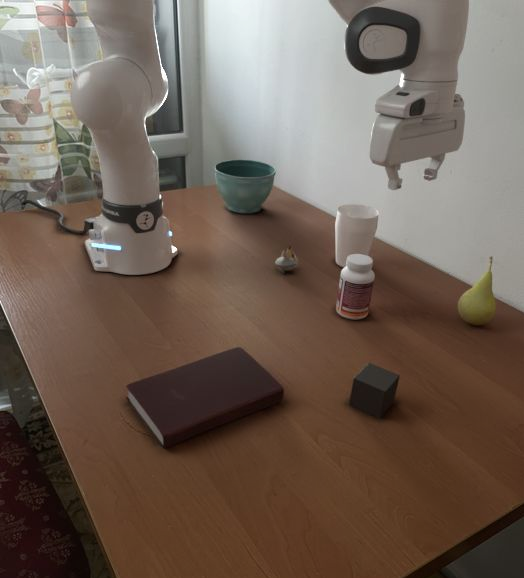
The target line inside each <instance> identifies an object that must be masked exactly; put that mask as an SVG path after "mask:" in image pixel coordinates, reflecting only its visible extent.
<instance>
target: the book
mask: <svg viewBox="0 0 524 578" xmlns="http://www.w3.org/2000/svg"><path fill="white" fill-rule="evenodd" d="M125 388H126V389H127V390H128V395H127V396H125V399H126V400H127V402H128V403H129V405H130V406H131V408H132V409H133V411H134V412H135V413H136V415H137V416H138V418H139V419H140V421H142V423H143V424H144V425H145V427H146V428H147V430H148V431H149V432H150V433H151V435H152V436H153V437H154V439H155V440H156V441H157V443H158V444H159V445H160V446H161V447H162V448H163V449H165V448H168V447H170V446H172V445H175V444H177V443H180V442H183V441H185V440H188V439H190V438H192V437H195V436H197V435H199V434H202V433H204V432H207V431H209V430H212V429H215V428H217V427H219V426H222V425H224V424H227V423H231V422H232V421H234V420H237V419H240V418H242V417H245V416H248V415H250V414H253V413H256V412H258V411H261V410H263V409H266V408H268V407H271V406H273V405H276V404H279V403H281V402H282V401H283V399H284V394H285V389H284V387H283V386H282V384H281V383H280V382H279V381H278V380H277V379H276V378H274V376H273V375H272V374H271V373H270V372H269V371H268V370H266V368H265V367H263V365H262V364H260V363H259V361H257V360H256V359H255V358H254V357H253V356H252V355H251V354H249V353H248V352H247V351H246V350H245V349H244V348H242V347H241V346H237V347H233V348H231V349H230V348H229V349H227V350H224V351H221V352H218V353H215V354H212V355H209V356H207V357H204V358H201V359H198V360H195V361H193V362H189V363H186V364H184V365H181V366H178V367H174V368H172V369H169V370H166V371H163V372H160V373H157V374H153V375H151V376H148V377H144V378H142V379H139V380H137V381H133V382H131V383H128V384H126V386H125Z"/></svg>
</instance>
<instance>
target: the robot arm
mask: <svg viewBox="0 0 524 578" xmlns="http://www.w3.org/2000/svg"><path fill="white" fill-rule="evenodd" d="M326 2H327V3H328V4H329V5H330V6H331V8H332V9H333V10H334V11H335V13H336V14H337V15H338V16H339V18H340V19H341V20H342V21H343V22H344V24H345V26H346V30H345V33H344V37H343V50H344V53H345V57H346V60H347V61H348V62H349V64H350V65H351V66H352V67H353V68H354V69H355V70H356V71H358V72H360V73H362V74H365V75H370V76H377V75H382V74H385V73H388V72H394V71H399V72H400V78H399V84H397V85H395V86H394V87H393V88H391V90H389V91H387V92H386V93H384V94H382V95H381V96H380V97H378V98H376V100H375V102H374V111H375V113H376V114H378V115H376V117H375V118H374V121H373V124H372V128H371V134H370V141H369V142H370V143H369V153H368V154H369V160H370V162H371V163H372V164H374V165H377V166H379V167H384V170H385V172H386V175H387V178H388V181H387V188H388V189H389V190H391V191H397V190H400V189H402V184H403V178H400V176H399V171H400V170H401V166H402V164H406V163H410V162H414V161H415V162H416V161H419V160H424V159H427V158H430V161H429V164H428V166H427V168H425V169H424V171H423V173H424V175H423V179H424V180H425V181H428V182H431V181H434V180H437V178H438V172H439V170H440V168H441V166H442V165H443V163H444V161H445V158H446V154H449V153H453V152H454V153H455V152H458V151H459V149H460V148H461V146H462V144H463V139H464V131H465V123H466V111H465V109H464V107H465V100H464V99H463V97H462V95H461V94H460V93H456V92H457V91H456V90H457V85H458V80H459V69H458V68H459V67H458V66H459V60H460V57H461V55H462V53H463V50H464V47H465V43H466V35H467V29H468V22H469V21H468V20H469V12H470V11H469V10H470V0H326ZM85 4H86V14H87V17H88V19H89V22H91V24H92V25H93V27H94V28H95V31H96V34H97V38H98V42H99V44H100V49H101V53H102V54H101V55H102V61H97V62H95V63H91V64H89V65H88V66H86V68H84V69H83V70H82V71H81V72H80V73H79V74H78V75H77V76H76V77H75V78H74V79H73V82H72V84H71V87H70V93H69V95H70V104H71V106H72V110H73V111H74V114H75V115H76V117H77V118H78V120H79V121H80V122H81V123H82V124H83V125H84V126H85V127H86V128H87V130H88V132H89V134H90V136H91V139H92V142H93V144H94V148H95V150H96V154H97V157H98V162H99V169H100V177H101V185H102V192H103V193H102V194H101V196H102V197H101V203H100V207H101V213H100V215H98V216H95V217H90V218H86V219H84V220H83V222H84V223H83V224H84V225H83V230H76V229H73V228H71V227H68V226H67V225H65V224H63V223H62V222H63V220H64V214H63V213H62V212H60V211H59V210H57V209H54V208H50V207H47V206H44V205H43V204H39V203H38V202H37V201H35V200H32V199H24V200H23V201H22V203H21V205H22V206H25V205H27V204H29V205H32V206H33V207H36V208H37V209H40V210H42V211H46V212H48V213H52V214H55V215H57V216H58V220H57V226H58V227H59V228H61V229H62V230H64V231H66V232H68V233H71V234H75V235H86V234H87V233H88V237H89V238H88V239H86V240H84V247H85V249H86V252H87V255H88V257H89V259H90V261H91V264H92V268H93V270H95V271H97V272H110V273H115V274H120V275H127V276H141V275H148V274H153V273H156V272H159V271H162V270H164V269H165V268H168V266H169V265H170V264H171V262H172V259H173V258H175V257H176V256H178V248H176V247H175V246H173V244H172V236H173V232H172V231H171V227H170V221H169V218H167V217H165V216H164V215H163V214H164V202H163V197H162V195H161V193H160V177H159V176H160V175H159V158H158V156H157V154H156V152H155V151H154V150H153V148H152V146H151V143H150V138H149V136H148V133H147V128H146V118H148V117H150V116H152V115H154V114H155V113H157V112H158V111H159V110H160V108H161V106H162V105H163V104H164V102H165V100H166V99H167V97H168V93H169V82H168V78H167V74H166V72H165V70H164V69H163V67H162V62H161V55H160V50H159V44H158V39H157V32H156V25H155V24H156V23H155V0H85Z"/></svg>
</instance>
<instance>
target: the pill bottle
mask: <svg viewBox="0 0 524 578" xmlns="http://www.w3.org/2000/svg"><path fill="white" fill-rule="evenodd" d="M373 264H374V259H373V258H372V257H371V256H369V255H368V256H366V255H362V254H352V255H349V256H348V257H347V261H346V267H342V269H341V271H340V276H339V284H338V291H337V298H336V306H335V310H336V313H337V314H338V315H339V316H340V317H342V318H344V319H347V320H353V321H354V320H363V319H364V318H366V317H367V316H368V315H369V311H370V307H371V301H372V296H373V295H372V294H373V289H374V284H375V272H374V271H373V270H372V268H373Z"/></svg>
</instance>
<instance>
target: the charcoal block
mask: <svg viewBox="0 0 524 578" xmlns="http://www.w3.org/2000/svg"><path fill="white" fill-rule="evenodd" d="M400 377H401V375H400V374H398V373H395V372H393V371H390V370H388V369H386V368H383V367H381V366H379V365H376V364H374V363H371V362H368V363H367V364H366V365H365V366H364V367H363V368H362V369H361V370H360V371H359V372H358V373H357V374H356V375H355V376H354V377H353V380H352V385H351V391H350V398H349V401H348V405H349V406H351V407H353V408H354V409H357V410H359V411H362V412H364V413H366V414H368V415H371V416H373V417H375V418H377V419H381V418H382V416H383V415H384V414H385V413H386V412H387V411H388V409H389V408H390V407H391V406H392V405H393V403H394V402H395V398H396V395H397V389H398V387H399V381H400Z"/></svg>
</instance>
